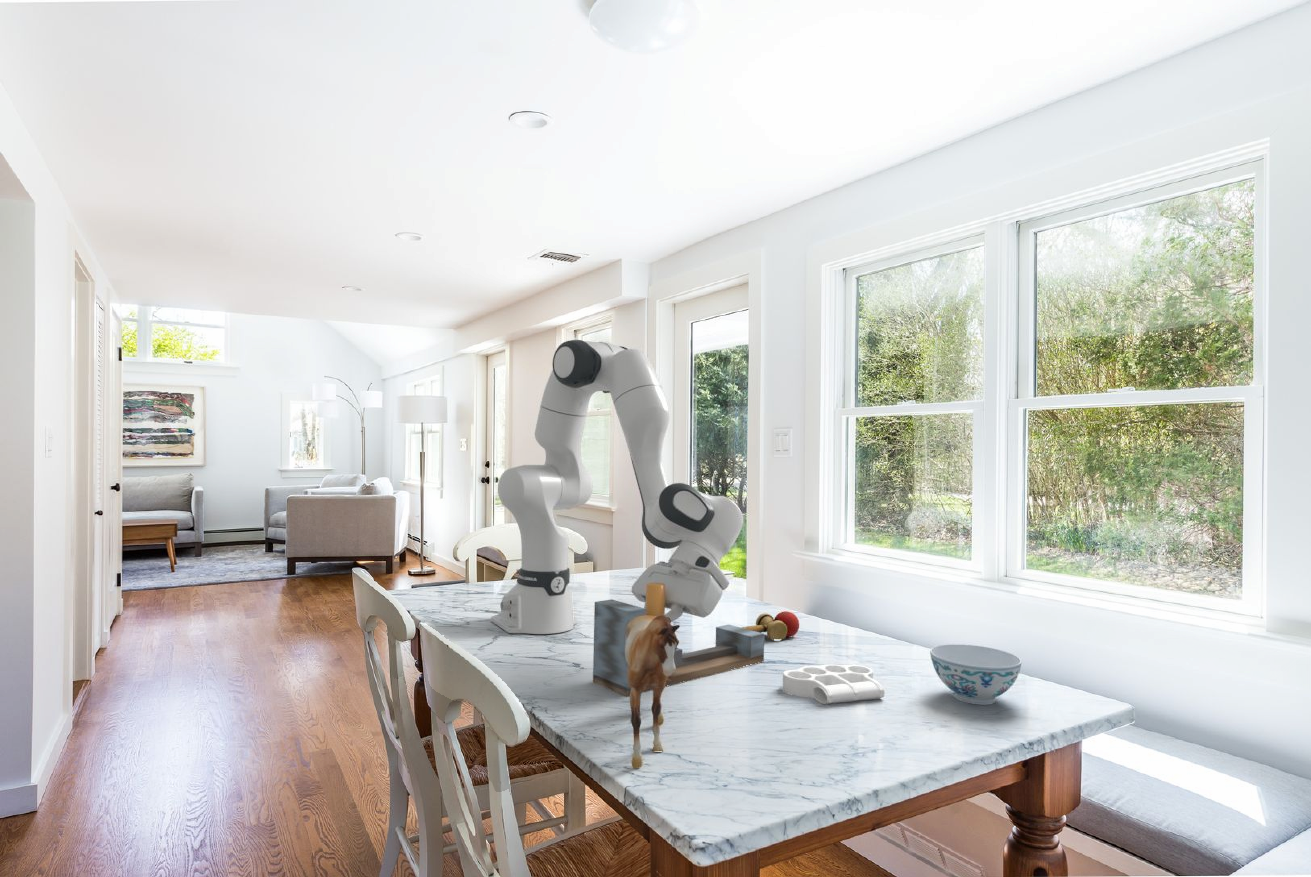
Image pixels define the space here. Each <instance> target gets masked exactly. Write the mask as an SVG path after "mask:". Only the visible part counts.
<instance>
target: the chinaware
mask: <svg viewBox="0 0 1311 877" xmlns="http://www.w3.org/2000/svg"><path fill="white" fill-rule="evenodd" d="M929 654H930V659H931V662H932V666H933V668H934V671H935V674H936V675H937V676H938V678H939V679H940V680H941V682H942V683H943V684H944V685H945V686H946V687H947V688H948V689H950V691H952V692H953V696H954V698H956V700H959V701H961V702H963V703H967V704H970V705H971V704H973V705H981V706H984V705H992V704H994V703H995V701H996V698H997V697H1000V696H1001V695H1003V694H1005V693H1006V692H1008V691H1009V689H1010V688H1012V686H1013V685H1014V683H1015V682H1016V681H1017V679H1018V677H1019V674H1020V672H1021V667H1022V659H1021V658H1020V657H1019V656H1018V655H1015V654H1013V653H1011V652H1008V651H1005V650H1001V649H997V648H994V647H989V646H984V645H983V646H981V645H974V644H973V645H972V644H964V643H963V644H960V643H958V644H957V643H956V644H955V643H954V644H953V643H952V644H950V643H949V644H948V643H947V644H940V645H936V646H932V648H930V650H929Z"/></svg>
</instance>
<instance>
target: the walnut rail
mask: <svg viewBox="0 0 1311 877" xmlns="http://www.w3.org/2000/svg"><path fill="white" fill-rule="evenodd" d="M593 611H594V615H593V617H594V618H593V622H594V623H593V656H592V657H593V662H592V663H593V664H592V669H593V670H592V683H594V684H596V685H598V686H601V685H602V686H601V687H603V686H604V687H603V688H606V689H609V690H610V689H611V691H613V692H615V693H618V694H620V695H622V696H625V697H630V691H631V688H630V686H629V683H628V678H627V675H628V669H629V665H628V664H627V662H626V658H625V644H626V640H627V626H628V624H629V622H630V621H631V620H633V619H634V618H637V617H639V616H645V615H646V609H645V608H644V607H641V606H638V605H634V604H630V603H627V602H624V601H623V602H622V601H619V600H615V599H607V600H598V601H594V610H593ZM762 661H764V662H765V633H764V632H762V633H759V632H756V631H752V630H748V629H744V628H741V627H739V626H735V625H732V624H726V625H720V626H715V646H713V647H707V648H703V649H699V650H694V651H690V652H685V653H682V663H680V664H676V665H675V667H676V670H675V671H674V672H673V677H671V678H668V679H670V680H671V681H672V682H668V681H666V684H665V686H666V687H668V686H667V685H670V686H674V685H678V684H681V683H680V682H682V683H684V682H683V681H686V682H690V681H693V679H694V680H697V678H698V679H701V678H700V677H702V678H704V677H705V678H706V677H708V676H713V675H716V673H717V674H721V673H724V672H729V671H732V670H731V669H733V670H735V669H734V668H737V669H741V668H744V667H743V666H745V667H747V666H746V665H749V666H751V665H750V664H753V665H756V664H755V663H757V664H759V663H758V662H761V663H763V662H762ZM740 667H741V668H740ZM728 670H729V671H728ZM712 674H713V675H712ZM650 691H653V688H652V686H650V687H648V688H647V689H645V690H644V691H643V692H642V693H645V692H650Z"/></svg>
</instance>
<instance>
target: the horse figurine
mask: <svg viewBox="0 0 1311 877" xmlns="http://www.w3.org/2000/svg"><path fill="white" fill-rule="evenodd" d="M680 627H681V625H680V624H677V625H676V624H675V625H672V622H671V619H670V618H669V617H665V616H648V615H645V616H639V617H637V618H634V619H633V620H631V621H630V622H629V624H628V626H627V640H626V644H625V658H626V662H627V664H628V665H629V669H628V675H627V678H628V683H629V686H630V688H631V691H630V696H629V705H630V706H629V707H630V711H631V712H630V713H631V715H630V716H631V717H630V722H631V726H632V729H633V744H632V745H633V746H632V749H633V754H632V759H631V767H632V768H633V769H640V768H641V767H642V765H643V756H642V754H641V753H640V752H641V750H642V749H641V748H642V745H641V740H640V728H641V725H642V719H641V713H642V712H641V696H642V693H644V692H643V691H644V690H645V689H647V688H648V687H650V686H652V688H653V690H652V704H651V709H650V710H651V714H652V732H651V733H652V735H653V741H652V744H653V746H652V751H653V750H654V751H662V752H664V749H663V746H662V740H661V738H660V734H661V729H660V726H662V725H663V724H664V722H665V718H664V714H663V711H662V708H663V704H662V701H661V697H662V694H663V691H664V689H665V684H666V681H668V682H672V681H671V680H670V679H668V678H671V677H673V672H674V671H675V670H676V667H675V663H674V654H675V651H676V648H678V645H679V644H680V640H679V639H678V638H677V637H678V636H677V635H676V632H677V630H678V629H679V628H680ZM654 751H653V752H654ZM639 767H640V768H639Z"/></svg>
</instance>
